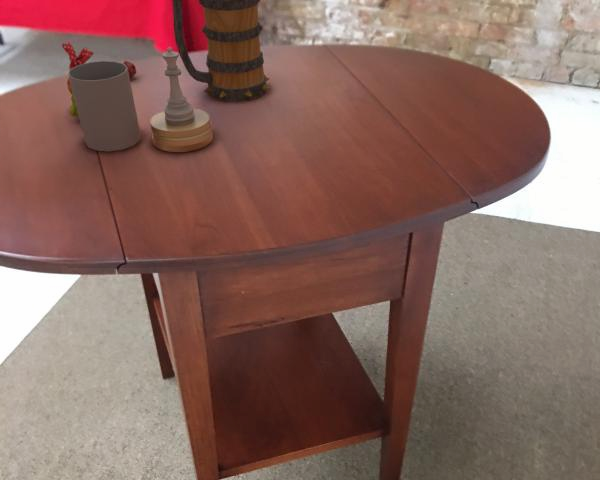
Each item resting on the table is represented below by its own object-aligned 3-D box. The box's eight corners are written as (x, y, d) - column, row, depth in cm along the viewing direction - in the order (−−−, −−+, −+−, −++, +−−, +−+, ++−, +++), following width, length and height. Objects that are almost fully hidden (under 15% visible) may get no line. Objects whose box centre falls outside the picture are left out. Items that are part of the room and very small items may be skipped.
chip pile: (139, 143, 97) (135, 123, 95) (181, 122, 102) (178, 103, 100) (185, 158, 93) (182, 137, 91) (226, 135, 98) (224, 116, 96)
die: (137, 75, 119) (134, 57, 117) (137, 80, 117) (133, 63, 114) (121, 76, 118) (118, 58, 116) (121, 81, 116) (117, 64, 114)
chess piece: (192, 125, 94) (182, 51, 87) (163, 125, 94) (150, 52, 87) (196, 113, 97) (186, 41, 90) (167, 114, 97) (156, 42, 90)
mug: (285, 95, 110) (281, -43, 96) (192, 114, 105) (172, -29, 91) (256, 73, 118) (248, -57, 104) (168, 89, 113) (146, -45, 99)
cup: (120, 154, 94) (104, 83, 87) (75, 146, 97) (56, 76, 90) (150, 132, 100) (138, 64, 93) (107, 125, 102) (91, 58, 95)
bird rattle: (66, 126, 108) (76, 120, 100) (40, 53, 103) (49, 41, 95) (101, 118, 110) (113, 111, 102) (77, 47, 105) (89, 34, 98)
